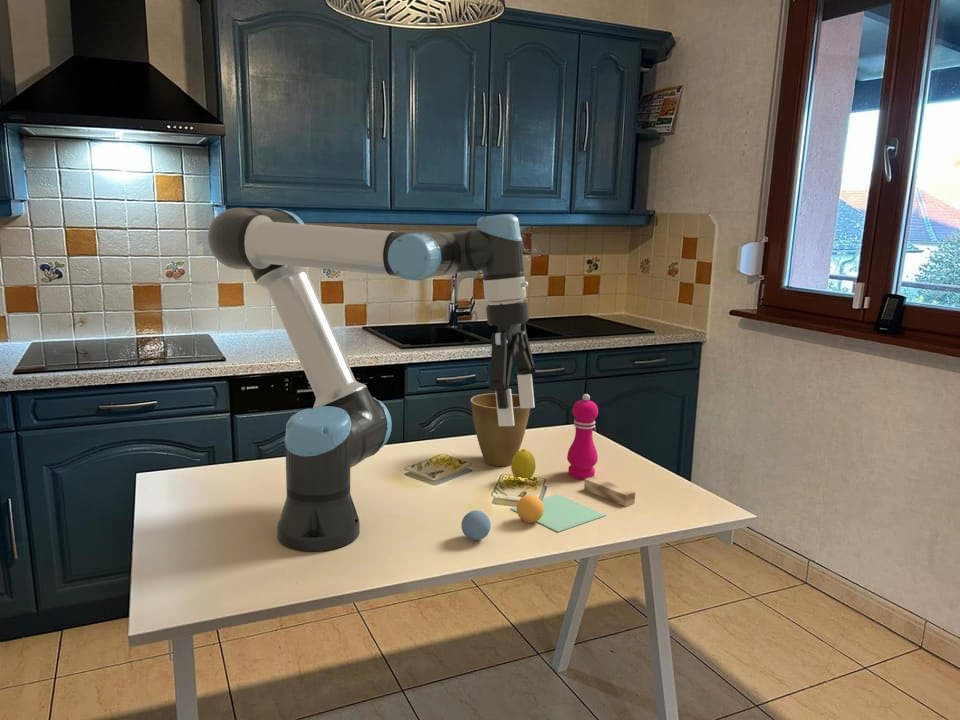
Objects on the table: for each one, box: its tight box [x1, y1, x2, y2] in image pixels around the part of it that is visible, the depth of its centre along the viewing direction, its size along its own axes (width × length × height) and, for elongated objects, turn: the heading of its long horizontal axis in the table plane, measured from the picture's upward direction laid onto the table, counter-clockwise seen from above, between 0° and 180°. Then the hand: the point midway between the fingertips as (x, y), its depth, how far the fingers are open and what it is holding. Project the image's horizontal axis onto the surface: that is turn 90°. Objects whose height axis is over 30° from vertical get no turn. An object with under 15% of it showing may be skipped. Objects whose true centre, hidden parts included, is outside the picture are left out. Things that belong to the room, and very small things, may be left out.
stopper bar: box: [583, 475, 636, 507], centre depth 161 cm, size 12×3×2 cm, turn 39°
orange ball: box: [516, 494, 544, 524], centre depth 146 cm, size 6×6×6 cm
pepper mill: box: [566, 393, 599, 480], centre depth 172 cm, size 7×7×20 cm
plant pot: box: [470, 392, 531, 467], centre depth 180 cm, size 15×15×16 cm
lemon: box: [510, 448, 536, 479], centre depth 167 cm, size 6×6×8 cm
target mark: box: [510, 493, 607, 533], centre depth 151 cm, size 14×14×1 cm
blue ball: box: [461, 510, 491, 541], centre depth 137 cm, size 6×6×6 cm
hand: (517, 416), depth 134 cm, fingers open, 13 cm apart
